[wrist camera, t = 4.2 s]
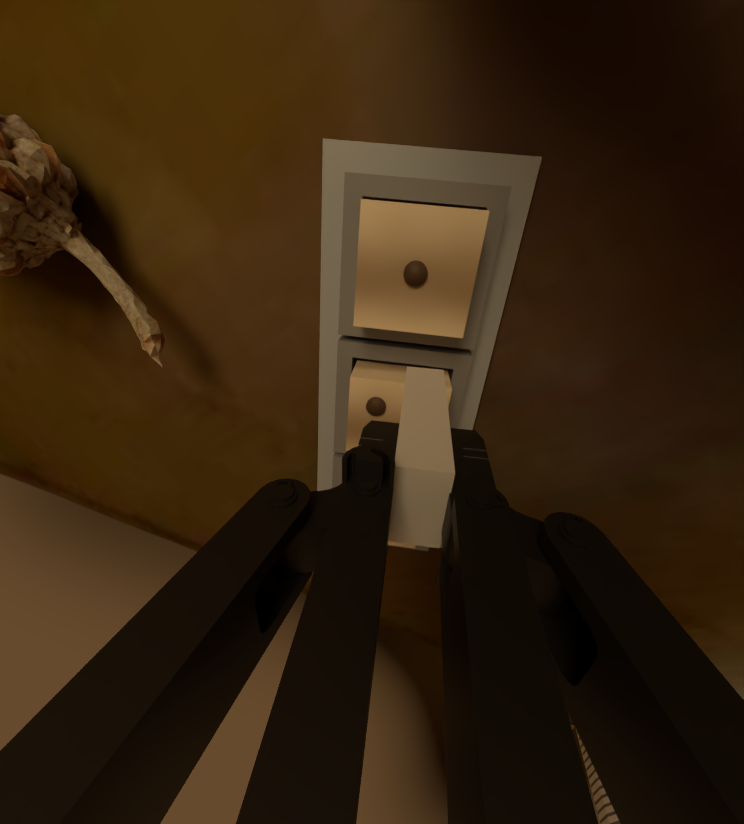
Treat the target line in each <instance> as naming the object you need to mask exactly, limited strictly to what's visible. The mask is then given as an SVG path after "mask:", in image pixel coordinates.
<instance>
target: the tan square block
mask: <svg viewBox="0 0 744 824" xmlns="http://www.w3.org/2000/svg"><path fill="white" fill-rule="evenodd" d="M489 212H490V211H488V210H477V209H466V208H455V207H444V206H433V205H423V204H412V203H401V202H390V201H379V200H368V199H361V206H360V222H359V239H358V256H357V272H356V289H355V305H354V322H353V326H358V327H366V328H375V329H384V330H393V331H402V332H411V333H420V334H429V335H438V336H447V337H456V338H463V335H464V331H465V326H466V321H467V316H468V312H469V307H470V302H471V297H472V293H473V288H474V283H475V278H476V274H477V269H478V264H479V259H480V255H481V250H482V245H483V240H484V236H485V231H486V226H487V221H488V217H489Z"/></svg>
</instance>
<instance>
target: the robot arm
mask: <svg viewBox="0 0 744 824" xmlns="http://www.w3.org/2000/svg"><path fill="white" fill-rule="evenodd" d="M441 539H442V556H441V560H440V565H439V570H438V574H437V579H436V584H440V596H441V626H442V656H443V686H444V713H445V715H444V716H445V746H446V773H447V775H446V776H447V806H448V824H598V821H597V817H596V814H595V810H594V807H593V803H592V799H591V796H590V792H589V789H588V785H587V782H586V778H585V774H584V771H583V768H582V764H581V760H580V757H579V753H578V749H577V746H576V742H575V739H574V735H573V732H572V728H571V724H570V721H569V717H568V714H567V711H568V713H569V715H570V717H571V720H572V722H573V724H574V726H575V728H576V730H577V732H578V734H579V737H580V739H581V741H582V743H583V745H584V747H585V749H586V751H587V754H588V756H589V758H590V760H591V762H592V764H593V766H594V768H595V771H596V773H597V775H598V777H599V779H600V781H601V783H602V785H603V787H604V790H605V792H606V794H607V796H608V798H609V800H610V802H611V804H612V807H613V809H614V811H615V813H616V815H617V817H618V819H619V821H620V824H744V700H743V699H742V698H741V697H740V695H739V694H738V693H737V692H736V691H735V689H734V688H733V687H732V686H731V685H730V684H729V682H728V681H727V680H726V679H725V678H724V676H723V675H722V674H721V673H720V672H719V670H718V669H717V668H716V667H715V666H714V664H713V663H712V662H711V661H710V660H709V659H708V657H707V656H706V655H705V654H704V653H703V651H702V650H701V649H700V648H699V647H698V645H697V644H696V643H695V642H694V641H693V640H692V638H691V637H690V636H689V635H688V634H687V632H686V631H685V630H684V629H683V628H682V626H681V625H680V624H679V623H678V622H677V620H676V619H675V618H674V617H673V616H672V615H671V613H670V612H669V611H668V610H667V609H666V607H665V606H664V605H663V604H662V603H661V601H660V600H659V599H658V598H657V597H656V596H655V594H654V593H653V592H652V591H651V590H650V588H649V587H648V586H647V585H646V584H645V582H644V581H643V580H642V579H641V578H640V576H639V575H638V574H637V573H636V572H635V571H634V569H633V568H632V567H631V566H630V565H629V563H628V562H627V561H626V560H625V559H624V557H623V556H622V555H621V554H620V553H619V552H618V550H617V549H616V548H615V547H614V546H613V544H612V543H611V542H610V541H609V540H608V538H607V537H606V536H605V535H604V534H603V533H602V532H601V531H600V530H599V529H598V528H597V527H596V526H595V525H594V524H592V523H591V522H589V521H587V520H586V519H584V518H582V517H579V516H576V515H574V514H571V513H562V512H557V513H553V514H550V515H549V516H548V517H547V518H546V519H545V520H544V522H542V521H539V520H537V519H534V518H531V517H528V516H526V515H523V514H521V513H519V512H516V511H515V510H513V509H512V508H510V507H509V504H508V502H507V500H506V498H505V497H504V496H503V495H502V494H501V493H500V492H499V491H498V490H496V487H495V483H494V479H493V475H492V471H491V467H490V463H489V460H488V455H487V452H486V448H485V444H484V440H483V439H482V437H481V436H480V435H479V434H478V433H477V432H476V431H475V430H466V429H457V428H450V422H449V412H448V403H447V394H446V385H445V376H444V370H440V369H429V368H419V367H408V366H407V370H406V377H405V385H404V393H403V401H402V408H401V416H400V423H392V422H383V421H374V420H371V421H370V422H369V423H368V424H367V425H366V426H364V427H363V430H362V434H361V438H360V440H359V444H358V446H357V447H353V448H351V449H350V450H348V451H346V452H345V454H344V455H343V457H342V484H340V485H338V486H337V487H334V488H331V489H327V490H321V491H312V492H310V490H309V489H308V487H307V486H306V485H305V484H304V483H302V482H300V481H298V480H294V479H279V480H276V481H273V482H270V483H268V484H266V485H265V486H264V487H262V488H261V489H260V490H259V491H258V492H257V493H256V494H255V495H254V496H253V497H252V498H251V499H250V500H249V501H248V502H247V503H246V504H245V505H244V506H243V507H242V508H241V509H240V510H239V511H238V512H237V513H236V514H235V515H234V516H233V517H232V518H231V519H230V520H229V521H228V522H227V523H226V524H225V525H224V526H223V527H222V528H221V529H220V530H219V531H218V532H217V533H216V534H215V535H214V536H213V537H212V538H211V539H210V540H209V541H208V542H207V543H206V544H205V545H204V546H203V547H202V548H201V549H200V550H199V551H198V552H197V553H196V554H195V555H194V556H193V557H192V558H191V559H190V560H189V561H188V562H187V563H186V564H185V565H184V566H183V567H182V569H180V570H179V572H177V573H176V574H175V575H174V576H173V577H172V578H171V579H170V580H169V581H168V582H167V583H166V584H165V586H164V587H163V588H162V589H160V590H159V591H158V593H157V594H156V595H155V596H154V597H153V598H152V599H151V600H150V601H149V602H148V603H147V604H146V605H145V606H144V607H143V608H142V609H141V610H140V611H139V612H138V613H137V614H136V615H135V616H134V617H133V618H132V619H131V620H130V621H129V622H128V623H127V624H126V625H125V626H124V627H123V628H122V629H121V630H120V631H119V632H118V633H117V634H116V635H115V636H114V637H113V638H112V639H111V640H110V641H109V642H108V643H107V644H106V645H105V646H104V647H103V648H102V649H101V650H100V651H99V652H98V653H97V654H96V655H95V656H94V657H93V658H92V659H91V660H90V661H89V662H88V663H87V664H86V665H85V666H84V667H83V668H82V669H81V670H80V671H79V672H78V673H77V674H76V675H75V676H74V677H73V678H72V679H71V680H70V681H69V682H68V683H67V684H66V685H65V686H64V687H63V688H62V689H61V690H60V691H59V692H58V693H57V694H56V695H55V696H54V697H53V698H52V700H50V702H48V703H47V704H46V705H45V706H44V707H43V708H42V709H41V710H40V711H39V712H38V713H37V714H36V715H35V716H34V717H33V718H32V719H31V721H29V723H28V724H26V726H24V728H23V729H22V730H21V731H20V732H19V733H18V734H17V735H16V736H15V737H14V738H13V739H12V740H11V741H10V742H9V743H8V744H7V745H6V746H5V747H4V748H3V749H2V750H1V751H0V824H160V823H161V821H162V820H163V818H164V816H165V815H166V813H167V812H168V809H169V808H170V807H171V805H172V803H173V802H174V799H175V798H176V797H177V795H178V793H179V792H180V790H181V788H182V786H183V785H184V784H185V782H186V780H187V779H188V777H189V775H190V774H191V772H192V770H193V769H194V767H195V765H196V764H197V762H198V760H199V759H200V757H201V756H202V754H203V752H204V751H205V749H206V747H207V745H208V744H209V742H210V741H211V739H212V737H213V736H214V734H215V733H216V731H217V729H218V728H219V726H220V724H221V723H222V721H223V719H224V718H225V716H226V714H227V713H228V711H229V709H230V708H231V706H232V705H233V703H234V701H235V699H236V698H237V696H238V695H239V693H240V691H241V690H242V688H243V686H244V685H245V683H246V682H247V680H248V678H249V677H250V675H251V673H252V672H253V670H254V668H255V667H256V665H257V663H258V662H259V660H260V658H261V657H262V655H263V654H264V652H265V650H266V648H267V647H268V645H269V644H270V642H271V641H272V639H273V637H274V636H275V634H276V632H277V630H278V629H279V627H280V626H281V624H282V622H283V621H284V619H285V617H286V616H287V614H288V613H289V611H290V609H291V608H292V606H293V604H294V603H295V601H296V599H297V598H298V596H299V594H300V593H301V591H302V590H303V588H304V586H305V585H306V583H307V581H308V580H309V578H310V576H311V575H312V572H313V571H314V575H313V578H312V581H311V584H310V587H309V591H308V594H307V597H306V600H305V604H304V607H303V610H302V613H301V616H300V620H299V623H298V626H297V629H296V632H295V636H294V639H293V642H292V645H291V649H290V652H289V655H288V658H287V661H286V665H285V668H284V671H283V674H282V677H281V681H280V684H279V687H278V690H277V694H276V697H275V700H274V703H273V706H272V710H271V713H270V716H269V720H268V722H267V726H266V729H265V732H264V736H263V739H262V742H261V745H260V749H259V751H258V755H257V758H256V761H255V764H254V767H253V771H252V774H251V777H250V781H249V784H248V787H247V790H246V793H245V796H244V800H243V803H242V806H241V809H240V813H239V816H238V819H237V822H236V824H356V819H357V810H358V801H359V793H360V784H361V774H362V767H363V757H364V749H365V740H366V731H367V723H368V714H369V705H370V696H371V688H372V679H373V670H374V661H375V653H376V643H377V635H378V626H379V618H380V609H381V600H382V591H383V582H384V574H385V565H386V556H387V546H388V541H390V542H397V543H404V544H411V545H418V546H425V547H432V548H440V544H441ZM566 709H567V710H566Z"/></svg>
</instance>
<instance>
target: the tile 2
mask: <svg viewBox="0 0 744 824" xmlns="http://www.w3.org/2000/svg"><path fill="white" fill-rule="evenodd" d="M408 367H410V366H408ZM406 370H407V366H402V365H393V364H385V363H376V362H368V361H359V360H357V362H356V365H355V367H354V369H353V371H352V374H351V376H350V388H349V405H348V421H347V438H346V451H348V450H350V449H351V448H353V447H357V446H358V444H359V440H360V438H361V434H362V430H363V427H364V426H366V425H367V424H368V423H369V422H370V421H371V420H374V421H383V422H392V423H400V416H401V408H402V401H403V393H404V385H405V377H406ZM444 376H445V385H446V394H447V403H448V407H449V402H450V397H451V392H452V386H451V382H450V378H449V374H448V371H445V370H444Z"/></svg>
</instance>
